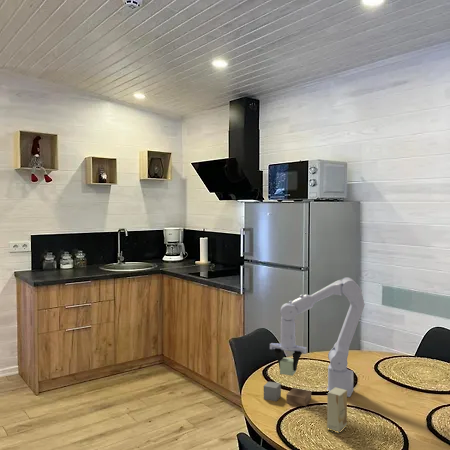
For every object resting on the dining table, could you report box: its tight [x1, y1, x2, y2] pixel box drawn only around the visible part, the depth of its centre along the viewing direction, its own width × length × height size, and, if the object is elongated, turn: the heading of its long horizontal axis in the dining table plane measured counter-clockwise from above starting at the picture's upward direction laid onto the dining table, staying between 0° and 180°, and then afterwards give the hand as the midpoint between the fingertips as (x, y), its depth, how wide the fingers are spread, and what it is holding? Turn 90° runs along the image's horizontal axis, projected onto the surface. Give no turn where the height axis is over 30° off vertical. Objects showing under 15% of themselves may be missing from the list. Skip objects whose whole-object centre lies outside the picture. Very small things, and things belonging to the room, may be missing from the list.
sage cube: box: [279, 356, 297, 377], centre depth 179 cm, size 5×5×5 cm
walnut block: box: [285, 387, 312, 407], centre depth 168 cm, size 7×7×4 cm
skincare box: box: [326, 387, 348, 432], centre depth 147 cm, size 6×4×12 cm
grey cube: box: [263, 381, 282, 402], centre depth 171 cm, size 5×5×5 cm
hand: (288, 369), depth 179 cm, fingers closed on sage cube, 5 cm apart
